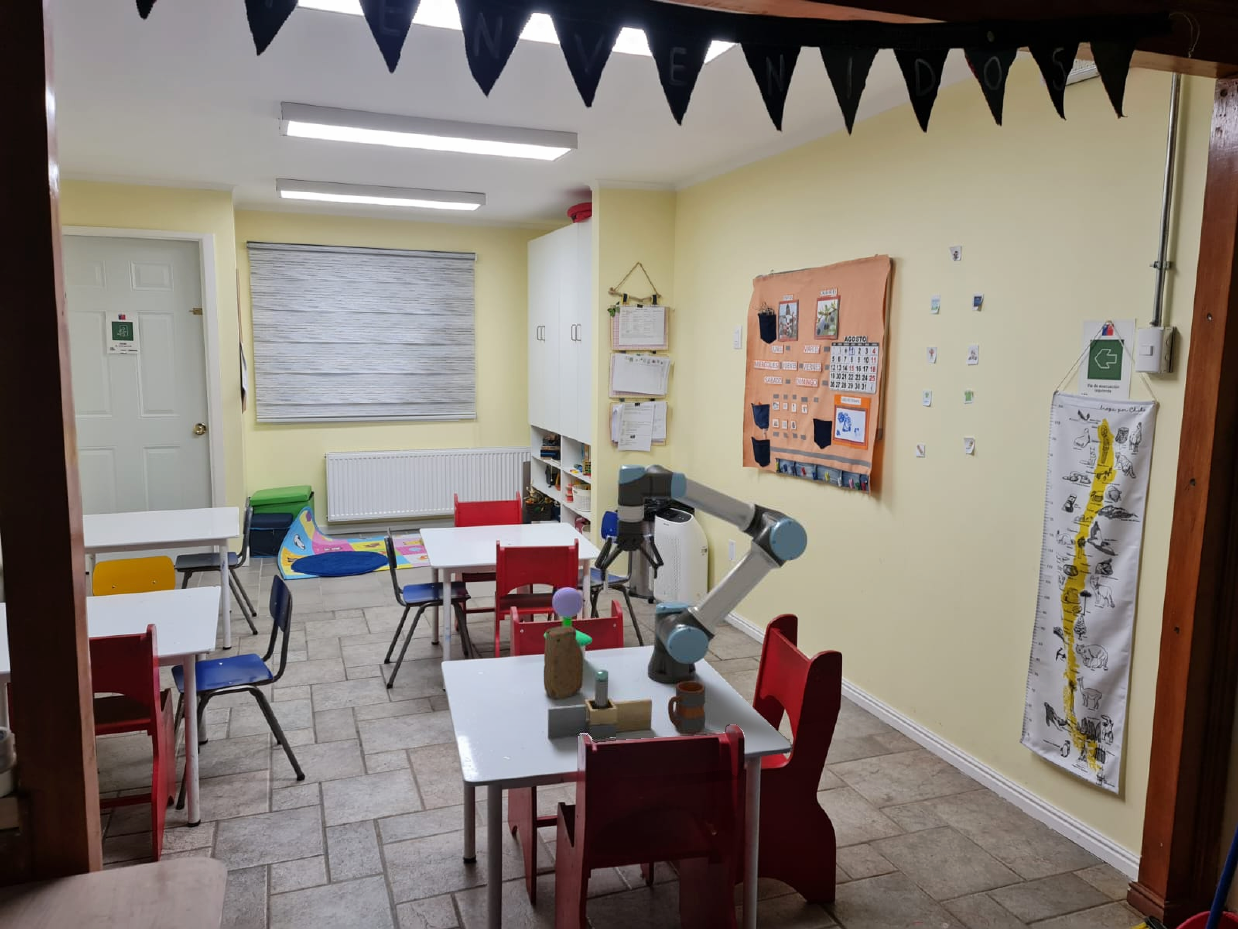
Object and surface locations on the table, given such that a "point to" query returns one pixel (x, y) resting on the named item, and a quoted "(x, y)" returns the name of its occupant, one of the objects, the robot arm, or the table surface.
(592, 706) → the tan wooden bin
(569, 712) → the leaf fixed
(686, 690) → the mug
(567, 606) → the toy character
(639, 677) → the table surface
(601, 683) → the pin
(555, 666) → the brown rounded block
